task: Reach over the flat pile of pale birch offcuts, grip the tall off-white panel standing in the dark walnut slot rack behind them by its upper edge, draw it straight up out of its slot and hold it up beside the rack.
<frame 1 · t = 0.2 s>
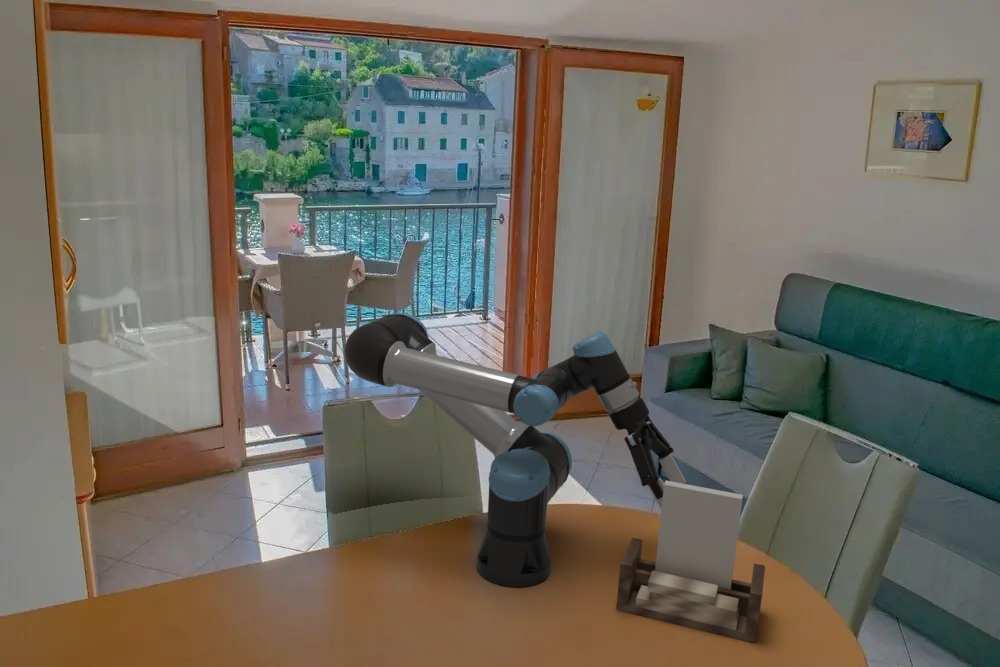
hand: (675, 497, 165), 16 cm above the table, tool tilted 35°, fingers open, 13 cm apart
rack: (687, 610, 154), on the table
sheet: (690, 596, 156), point 1 cm above the table, touching rack
offcuts: (686, 611, 151), point 1 cm above the table, touching rack
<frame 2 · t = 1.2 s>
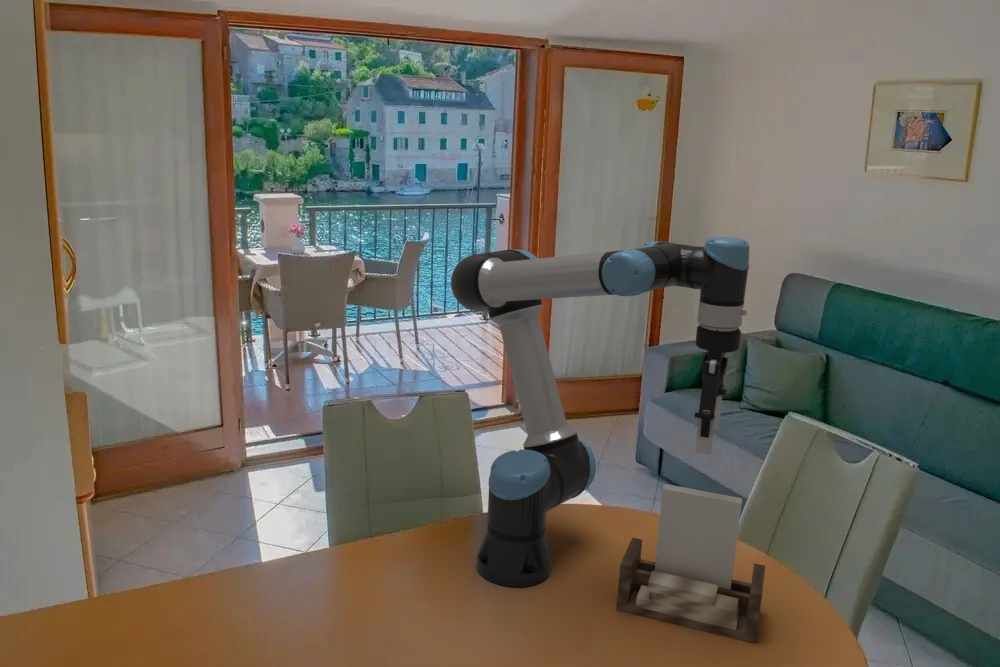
hand: (707, 440, 149), 33 cm above the table, tool pointing down, fingers open, 13 cm apart
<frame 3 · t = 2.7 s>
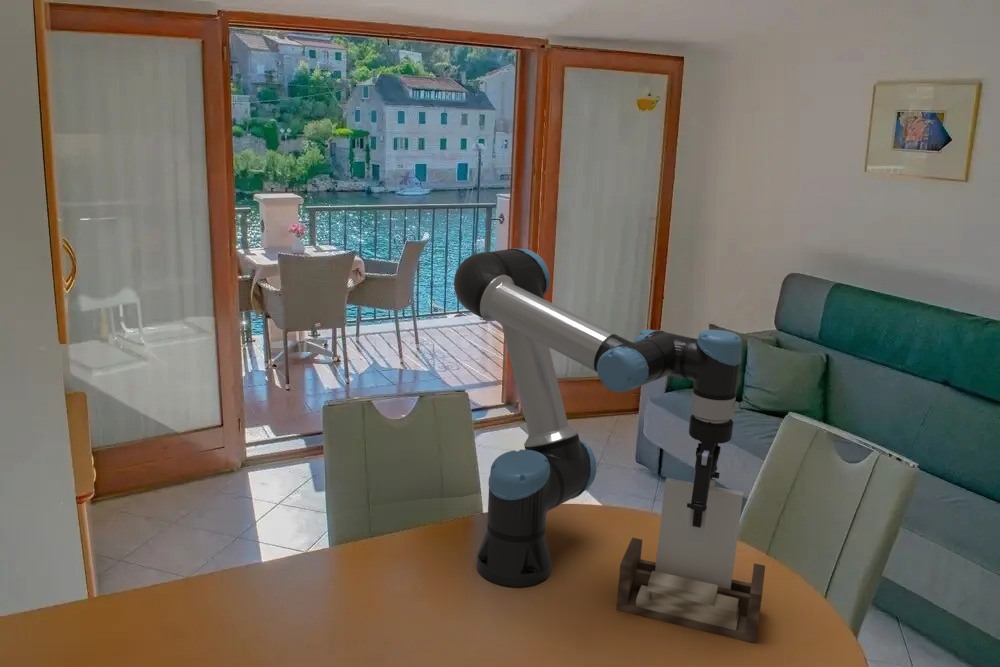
hand: (700, 525, 152), 16 cm above the table, tool pointing down, fingers open, 13 cm apart
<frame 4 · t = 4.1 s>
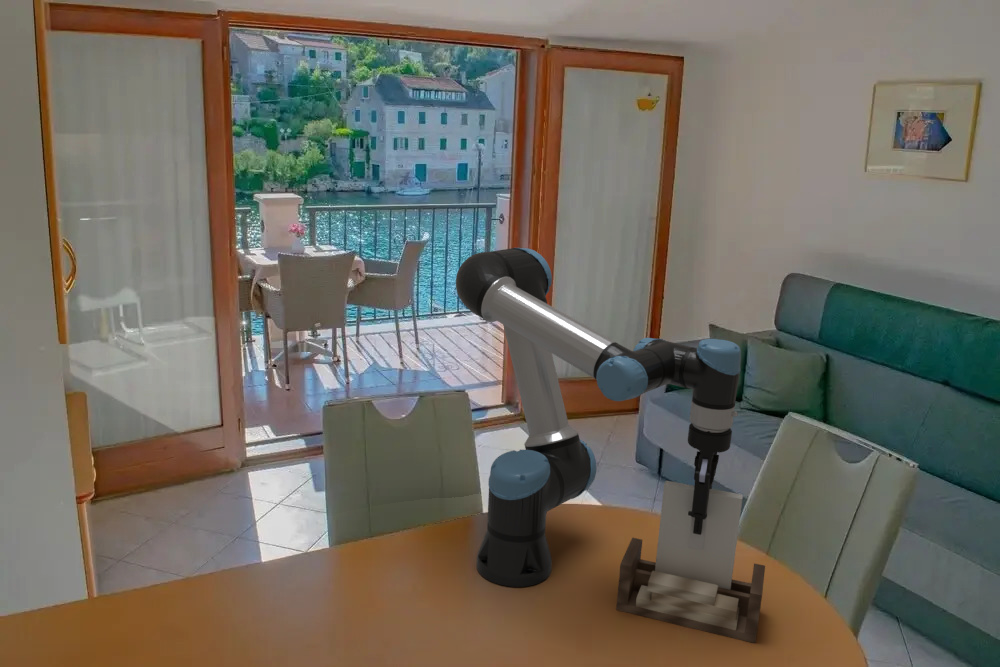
hand: (696, 544, 153), 12 cm above the table, tool pointing down, fingers closed on sheet, 2 cm apart
sheet: (690, 596, 156), point 2 cm above the table, touching gripper, rack
everything else where it was.
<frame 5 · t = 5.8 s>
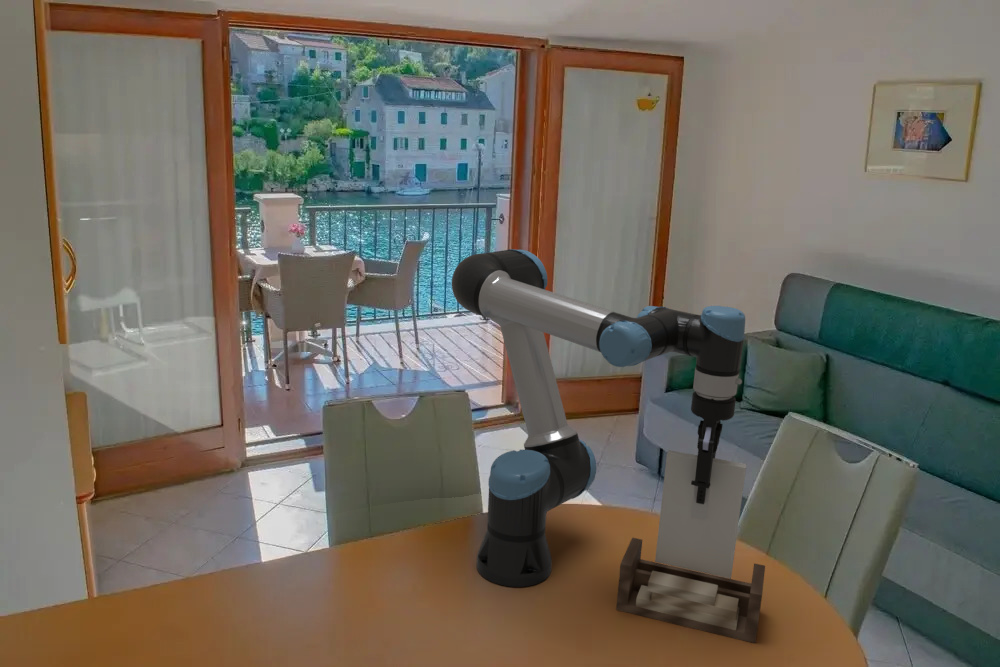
hand: (699, 514, 152), 19 cm above the table, tool pointing down, fingers closed on sheet, 2 cm apart
sheet: (693, 567, 154), point 8 cm above the table, touching gripper
everything else where it was.
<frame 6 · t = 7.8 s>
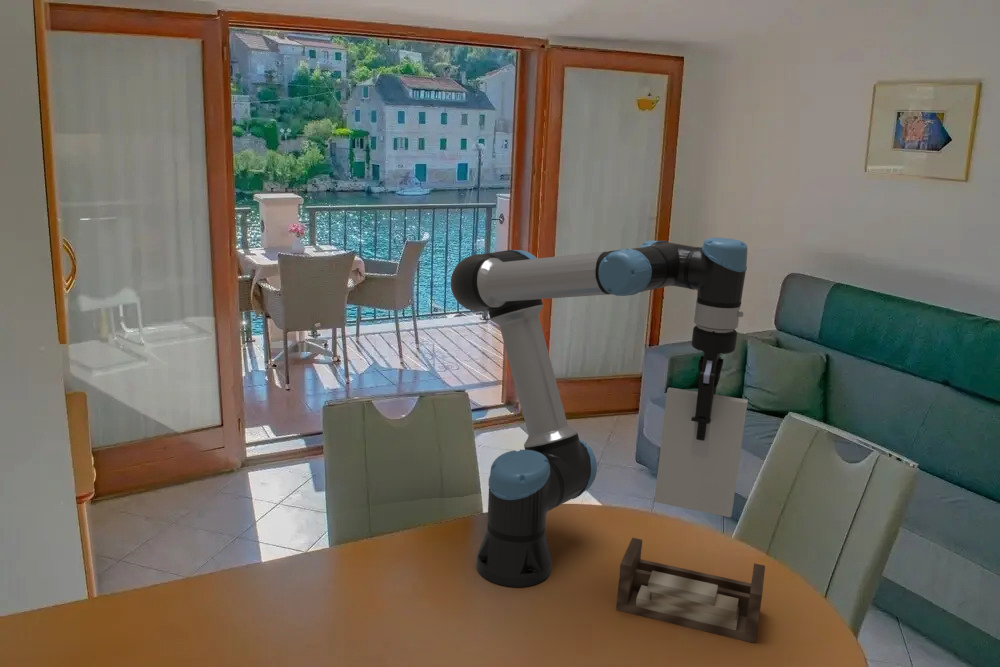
hand: (699, 452, 149), 30 cm above the table, tool pointing down, fingers closed on sheet, 2 cm apart
sheet: (692, 507, 152), point 19 cm above the table, touching gripper
everything else where it was.
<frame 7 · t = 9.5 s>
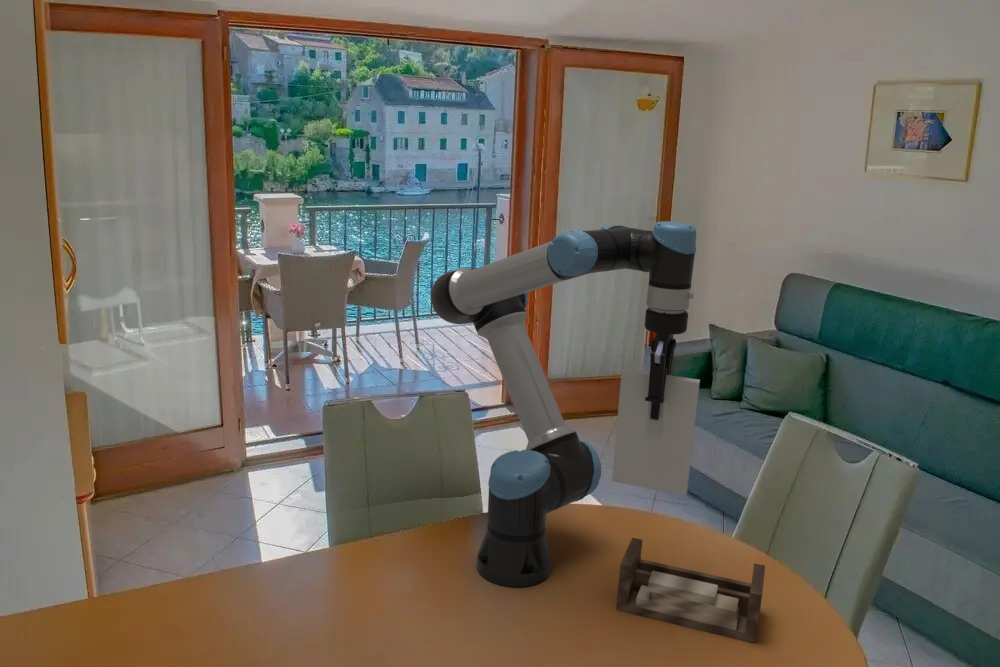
hand: (654, 432, 153), 32 cm above the table, tool pointing down, fingers closed on sheet, 2 cm apart
sheet: (649, 486, 156), point 21 cm above the table, touching gripper
everything else where it was.
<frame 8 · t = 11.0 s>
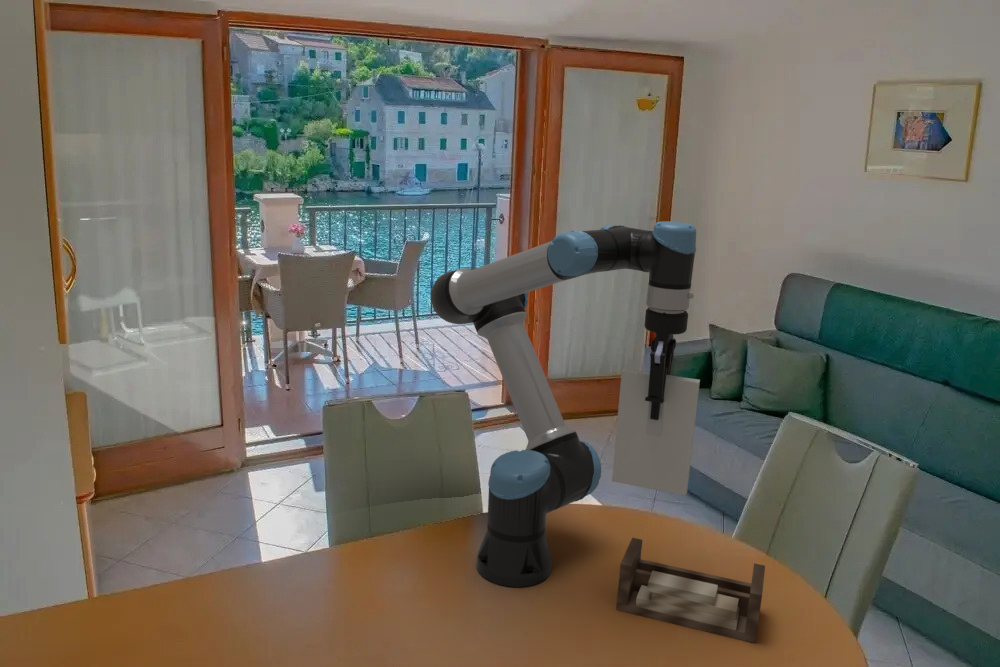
hand: (654, 432, 153), 32 cm above the table, tool pointing down, fingers closed on sheet, 2 cm apart
sheet: (649, 486, 156), point 21 cm above the table, touching gripper
everything else where it was.
at the end: sheet point 21.5 cm above the table; the gripper is holding sheet; offcuts moved 0.0 cm from its start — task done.
